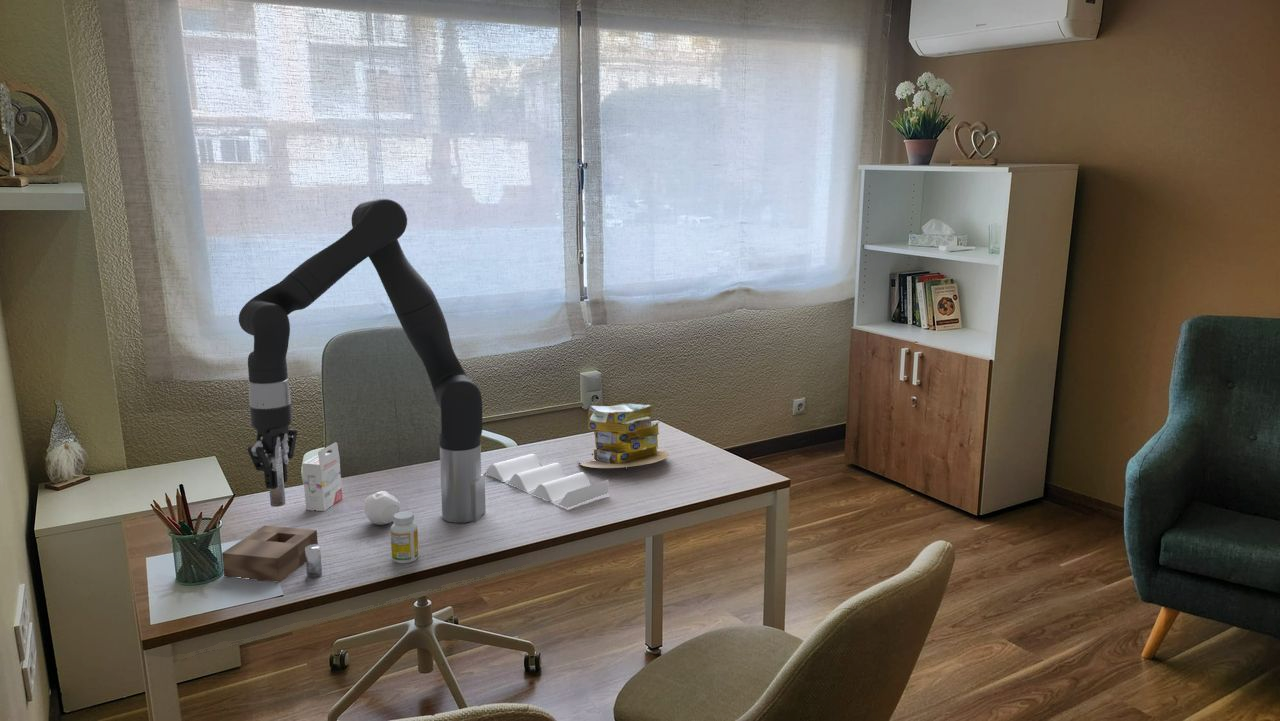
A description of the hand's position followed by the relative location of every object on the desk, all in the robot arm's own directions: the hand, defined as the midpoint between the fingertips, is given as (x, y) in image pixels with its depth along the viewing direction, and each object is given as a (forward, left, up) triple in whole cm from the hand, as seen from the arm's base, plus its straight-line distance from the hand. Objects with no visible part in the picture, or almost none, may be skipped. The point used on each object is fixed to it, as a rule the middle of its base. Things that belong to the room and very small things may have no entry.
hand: (276, 484), depth 175 cm
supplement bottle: (-24, -6, -17) cm, 30 cm away
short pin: (-10, +5, -16) cm, 20 cm away
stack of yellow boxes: (-56, -74, -17) cm, 95 cm away
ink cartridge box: (+8, -30, -17) cm, 35 cm away
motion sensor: (-11, -22, -17) cm, 30 cm away
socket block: (+1, +2, -16) cm, 16 cm away
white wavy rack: (-40, -54, -17) cm, 69 cm away
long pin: (0, 0, -4) cm, 4 cm away
